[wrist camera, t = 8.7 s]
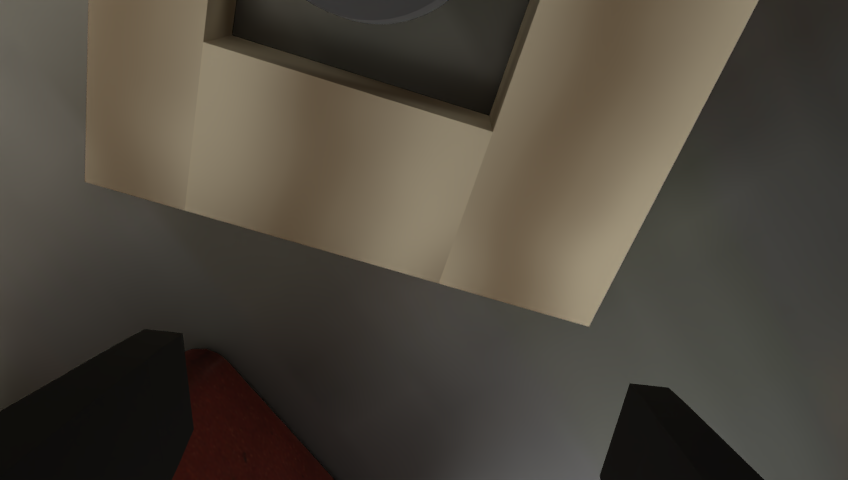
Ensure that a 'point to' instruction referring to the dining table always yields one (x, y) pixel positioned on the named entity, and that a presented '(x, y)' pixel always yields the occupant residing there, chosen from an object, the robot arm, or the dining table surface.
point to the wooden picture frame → (414, 140)
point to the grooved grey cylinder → (379, 9)
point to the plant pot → (237, 430)
